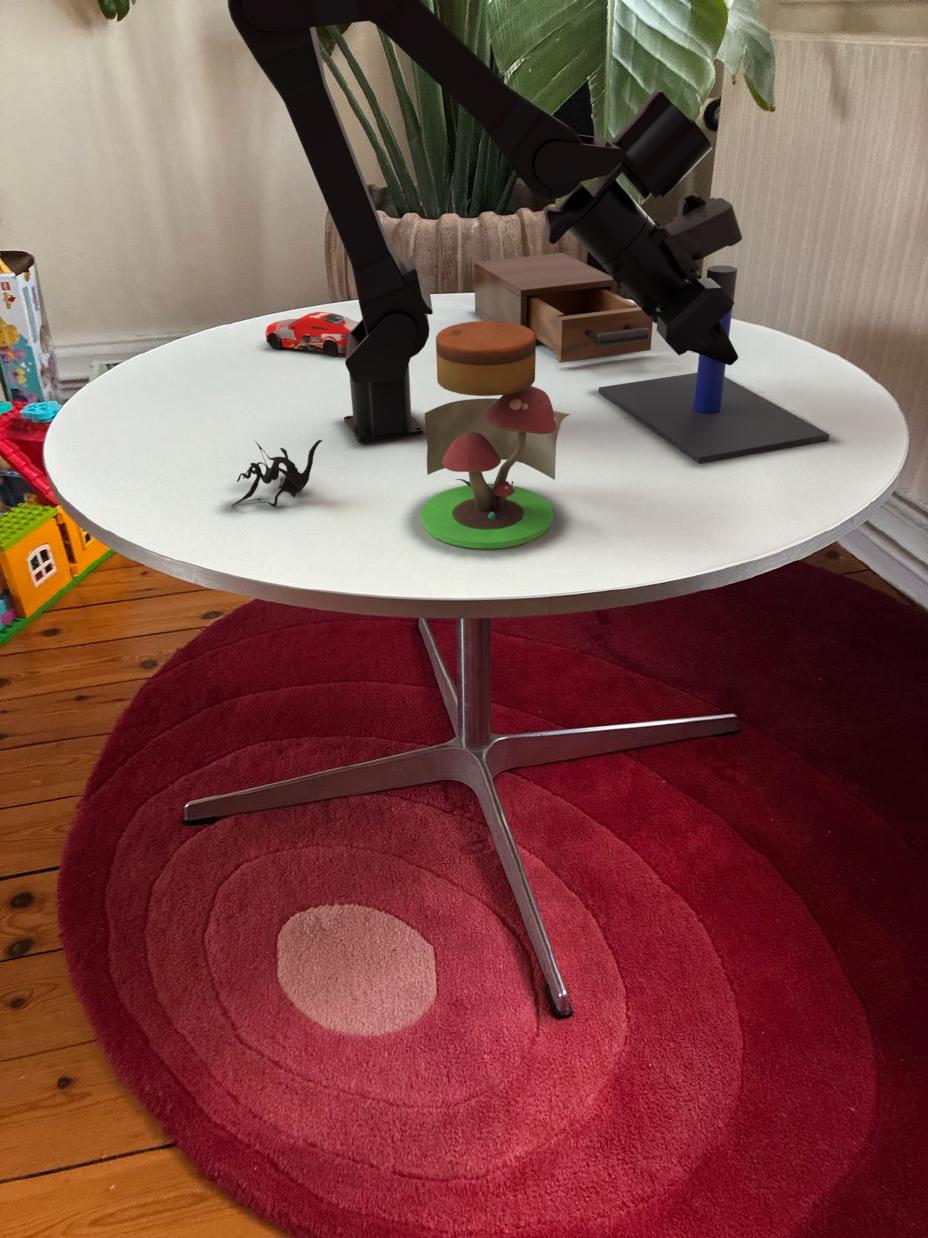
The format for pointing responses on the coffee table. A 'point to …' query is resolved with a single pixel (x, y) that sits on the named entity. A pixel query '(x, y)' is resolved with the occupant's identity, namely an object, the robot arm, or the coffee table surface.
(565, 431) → the coffee table surface
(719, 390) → the marker
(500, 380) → the mushroom figurine
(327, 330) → the race car
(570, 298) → the drawer
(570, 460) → the coffee table surface
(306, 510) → the coffee table surface
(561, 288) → the cabinet
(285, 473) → the creature
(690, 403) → the desk mat
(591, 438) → the coffee table surface
